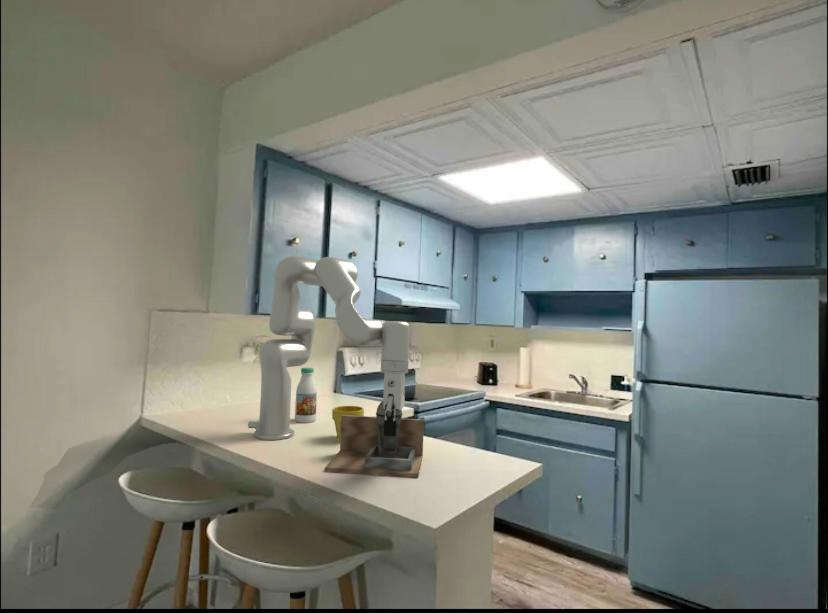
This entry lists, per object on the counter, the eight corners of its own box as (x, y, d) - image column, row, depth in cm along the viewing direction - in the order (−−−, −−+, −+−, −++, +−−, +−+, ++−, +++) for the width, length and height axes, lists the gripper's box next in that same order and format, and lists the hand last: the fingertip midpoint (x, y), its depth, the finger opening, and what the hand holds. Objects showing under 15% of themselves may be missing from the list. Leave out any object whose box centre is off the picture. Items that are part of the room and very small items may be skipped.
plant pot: (324, 438, 144) (325, 408, 145) (346, 432, 153) (347, 404, 153) (347, 444, 138) (348, 413, 139) (369, 438, 147) (370, 408, 147)
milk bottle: (290, 421, 166) (292, 367, 167) (305, 417, 173) (308, 366, 173) (304, 424, 162) (306, 369, 163) (319, 420, 168) (322, 368, 169)
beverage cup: (395, 462, 116) (399, 385, 116) (369, 458, 118) (373, 383, 119) (404, 454, 123) (407, 382, 123) (379, 451, 125) (382, 380, 126)
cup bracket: (324, 471, 114) (326, 428, 114) (340, 452, 129) (342, 415, 130) (418, 477, 111) (419, 433, 112) (422, 458, 127) (423, 419, 128)
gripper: (404, 370, 112) (401, 441, 111) (411, 364, 129) (408, 425, 129) (375, 369, 113) (372, 439, 112) (385, 362, 130) (383, 423, 129)
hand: (391, 431), depth 120 cm, fingers closed on beverage cup, 6 cm apart
